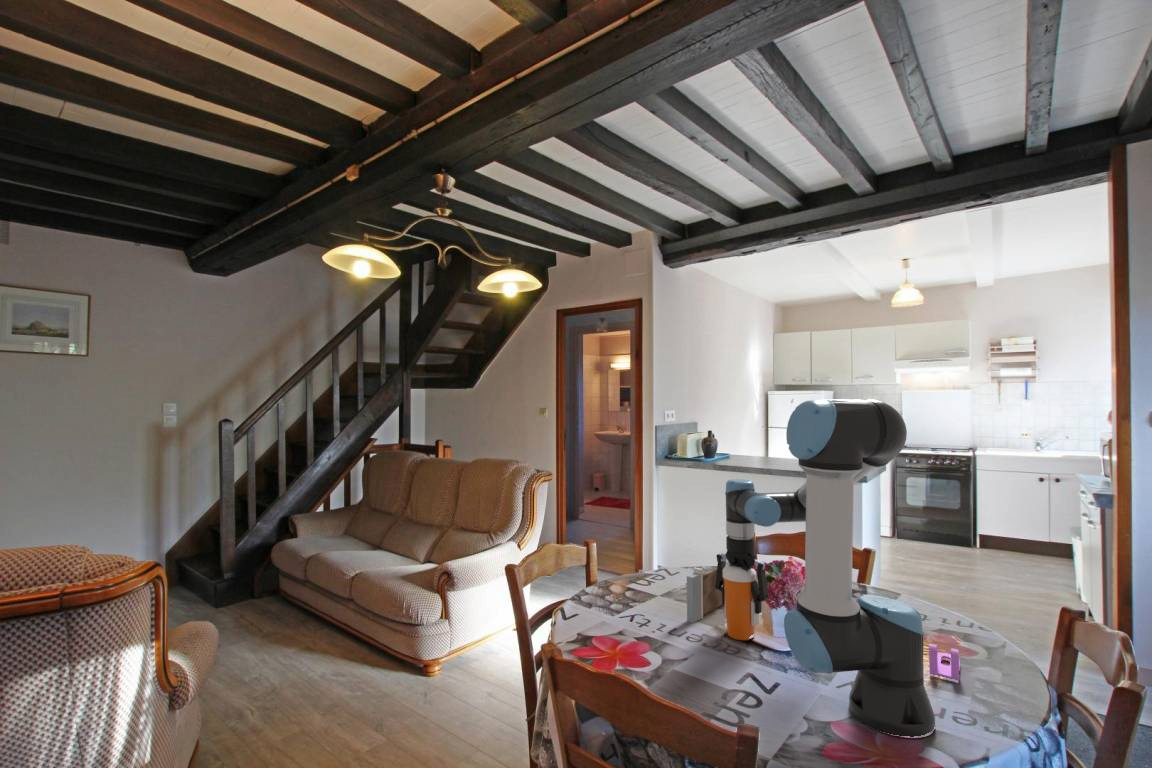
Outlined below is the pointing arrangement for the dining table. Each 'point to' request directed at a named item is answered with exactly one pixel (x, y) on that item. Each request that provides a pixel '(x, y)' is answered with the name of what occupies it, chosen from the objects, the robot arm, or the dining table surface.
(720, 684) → the dining table surface
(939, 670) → the bracket
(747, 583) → the shaker bottle
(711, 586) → the door
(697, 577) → the wall
